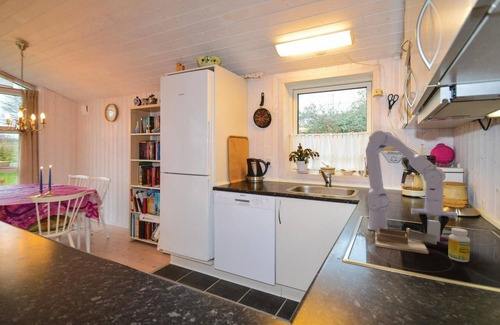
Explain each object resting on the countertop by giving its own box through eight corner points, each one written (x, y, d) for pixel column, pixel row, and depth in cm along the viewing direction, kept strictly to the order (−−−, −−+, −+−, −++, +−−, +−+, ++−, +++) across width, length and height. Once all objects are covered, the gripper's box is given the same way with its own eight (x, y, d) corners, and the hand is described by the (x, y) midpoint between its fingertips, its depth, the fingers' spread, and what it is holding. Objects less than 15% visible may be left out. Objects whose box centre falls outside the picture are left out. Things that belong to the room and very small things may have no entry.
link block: (425, 236, 101) (425, 219, 100) (437, 238, 99) (438, 220, 99) (427, 239, 97) (427, 221, 97) (439, 241, 95) (440, 223, 95)
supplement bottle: (457, 255, 84) (459, 226, 84) (474, 262, 79) (475, 231, 78) (443, 256, 83) (444, 227, 83) (459, 262, 78) (460, 232, 78)
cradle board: (375, 232, 108) (375, 224, 108) (419, 238, 101) (419, 230, 100) (375, 245, 91) (375, 236, 91) (428, 254, 84) (428, 244, 84)
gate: (405, 236, 99) (405, 228, 99) (407, 236, 99) (407, 227, 99) (435, 244, 90) (435, 235, 90) (437, 244, 91) (437, 234, 91)
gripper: (413, 199, 97) (411, 234, 97) (460, 203, 91) (459, 240, 91) (410, 196, 103) (409, 229, 104) (454, 200, 97) (453, 234, 97)
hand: (432, 234), depth 98 cm, fingers closed on link block, 4 cm apart
